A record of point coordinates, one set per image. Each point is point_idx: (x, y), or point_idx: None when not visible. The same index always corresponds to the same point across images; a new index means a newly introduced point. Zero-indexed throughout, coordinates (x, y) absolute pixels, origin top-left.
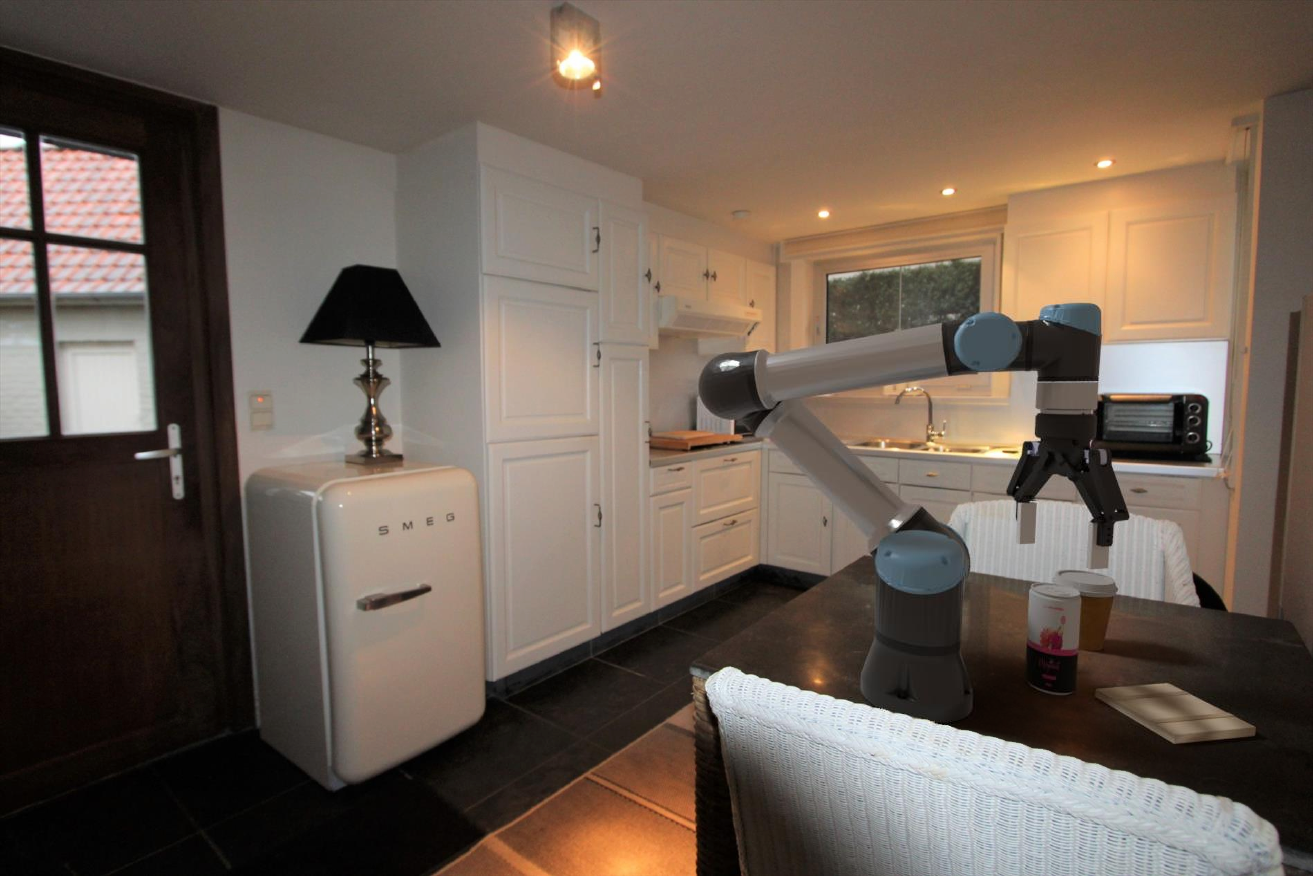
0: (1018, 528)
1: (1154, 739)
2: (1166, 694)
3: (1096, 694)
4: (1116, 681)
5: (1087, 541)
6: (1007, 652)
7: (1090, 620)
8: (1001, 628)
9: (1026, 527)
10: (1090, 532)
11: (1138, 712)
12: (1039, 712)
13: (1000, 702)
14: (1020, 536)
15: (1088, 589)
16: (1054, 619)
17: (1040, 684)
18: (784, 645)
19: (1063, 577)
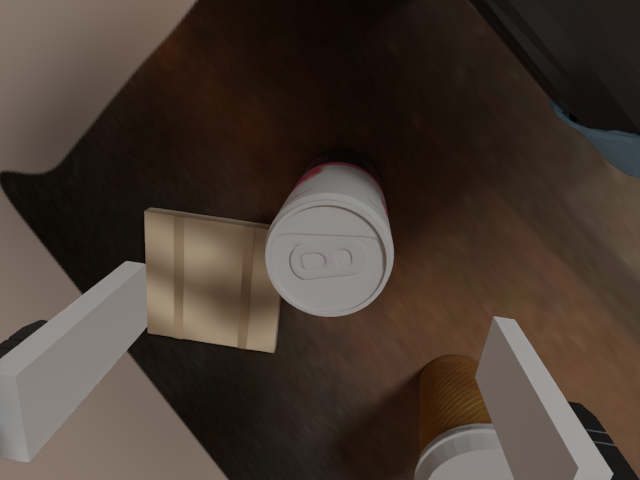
0: (528, 358)
1: (165, 192)
2: (242, 314)
3: None
4: None
5: (85, 313)
6: (479, 229)
7: (428, 405)
8: (573, 312)
9: (509, 390)
10: (40, 338)
11: (206, 223)
12: (268, 84)
13: (316, 39)
14: (504, 339)
15: (439, 450)
16: (291, 195)
17: (326, 152)
18: None
19: None
